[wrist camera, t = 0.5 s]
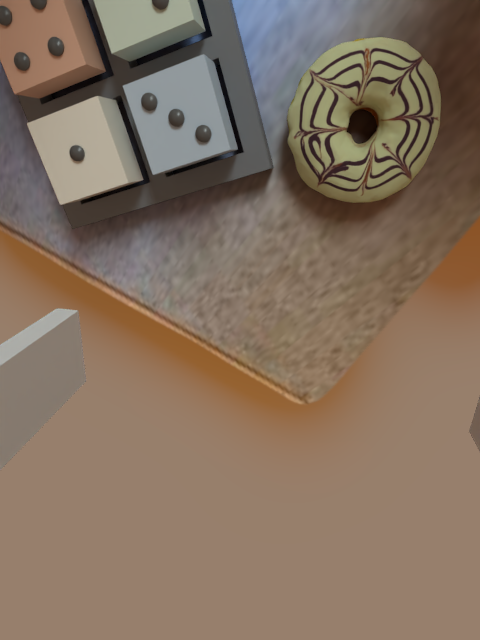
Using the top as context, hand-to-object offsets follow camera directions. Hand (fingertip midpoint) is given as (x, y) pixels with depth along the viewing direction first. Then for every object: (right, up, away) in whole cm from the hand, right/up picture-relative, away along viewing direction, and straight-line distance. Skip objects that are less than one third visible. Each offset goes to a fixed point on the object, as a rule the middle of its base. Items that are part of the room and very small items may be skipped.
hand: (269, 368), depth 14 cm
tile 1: (-12, +15, +20) cm, 28 cm away
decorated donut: (+8, +16, +19) cm, 27 cm away
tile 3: (-5, +17, +18) cm, 25 cm away
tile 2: (-7, +24, +16) cm, 29 cm away
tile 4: (-15, +22, +18) cm, 32 cm away
